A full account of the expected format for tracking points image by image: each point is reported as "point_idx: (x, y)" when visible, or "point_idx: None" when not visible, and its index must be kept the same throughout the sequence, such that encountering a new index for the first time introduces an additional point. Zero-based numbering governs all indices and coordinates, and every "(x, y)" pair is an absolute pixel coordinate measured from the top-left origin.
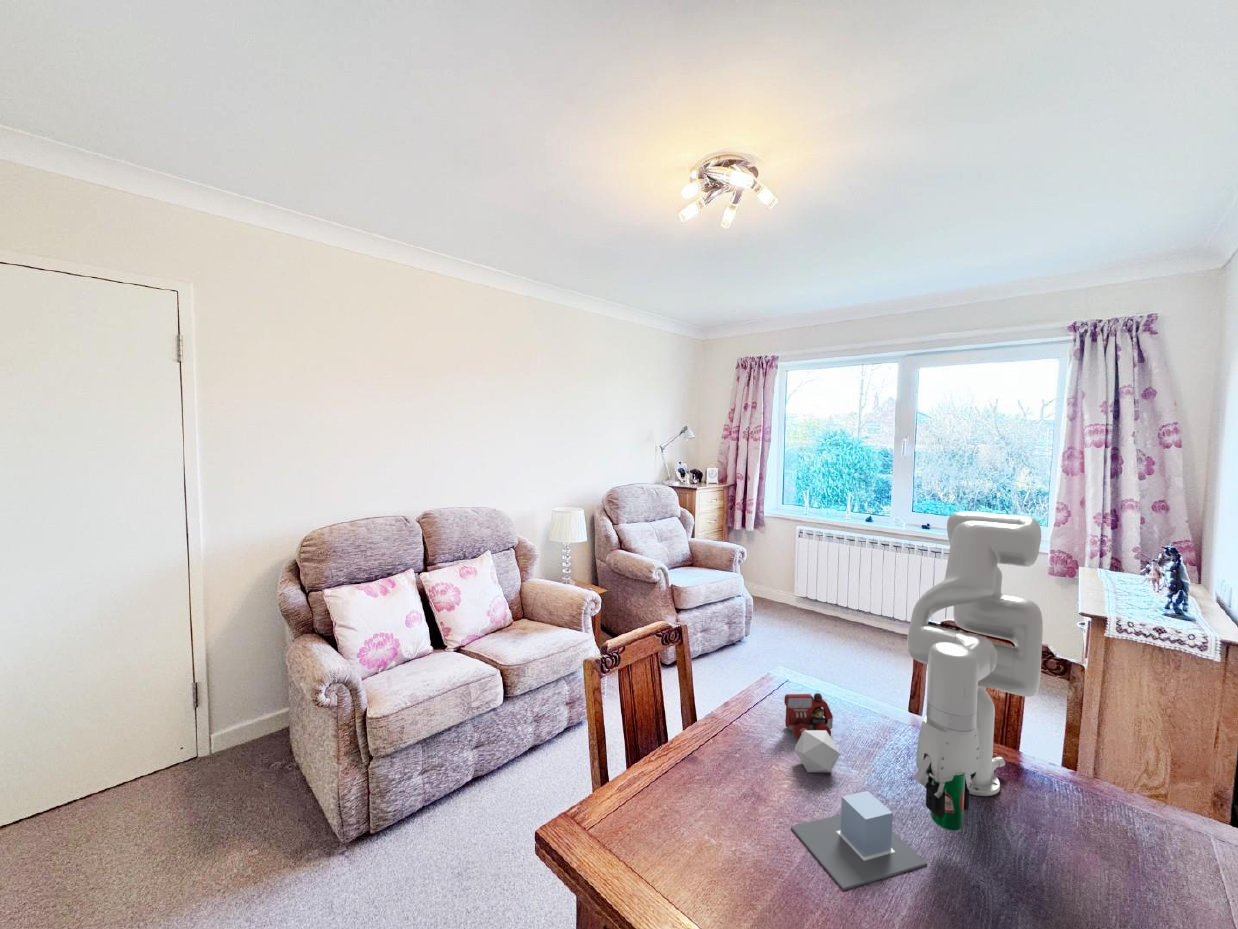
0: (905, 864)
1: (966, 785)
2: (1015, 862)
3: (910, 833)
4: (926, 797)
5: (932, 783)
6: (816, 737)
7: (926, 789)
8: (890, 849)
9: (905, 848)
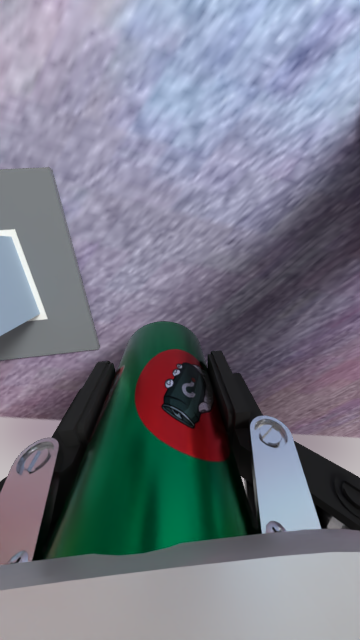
0: (51, 347)
1: (245, 482)
2: (254, 360)
3: (123, 274)
4: (85, 386)
5: (84, 453)
6: None
7: (66, 416)
8: (37, 314)
9: (76, 314)
